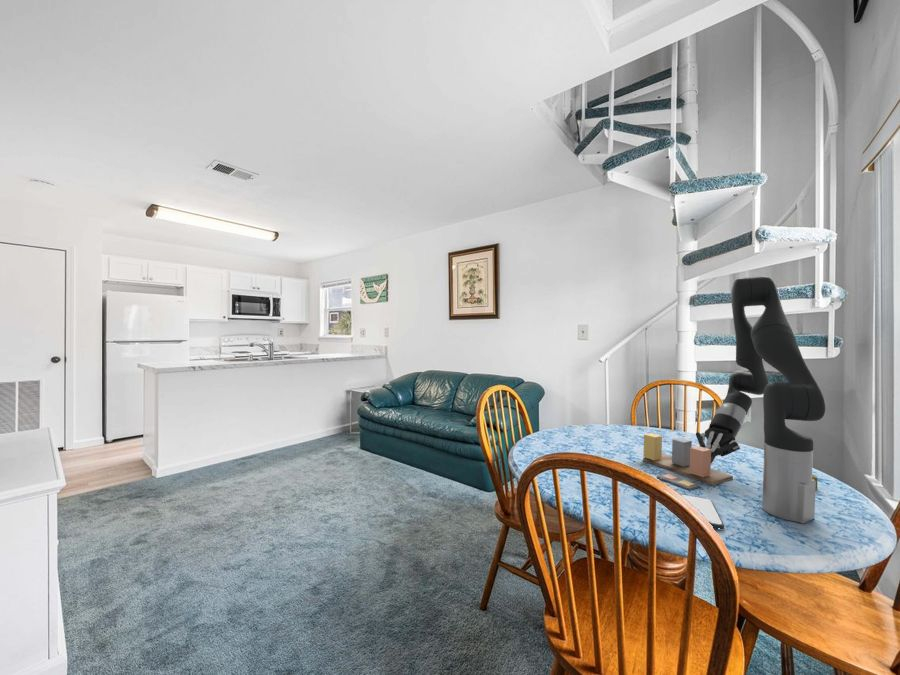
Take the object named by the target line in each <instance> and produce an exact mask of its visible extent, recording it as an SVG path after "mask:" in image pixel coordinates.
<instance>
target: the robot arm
mask: <svg viewBox="0 0 900 675" xmlns="http://www.w3.org/2000/svg"><path fill="white" fill-rule="evenodd" d="M776 284H777V283H776V282H775V280H774V279H773V278H772V277H770V276H767V275H765V276H751V277H742V278H735V279H734V280H733V281H732V284H731V287H730V301H731V309H732V310H731V312H732V318H733V320H732V321H733V325H734V331H735V344H736V345H735V364H736V365H737V366H739V367H741V368H743V369H746V370H748V371H744V370H735V371H734V372H732V373H731V374H730V376H729V380H728V388H727V393H726V396H725V398H724V400H723V402H722V403H721V405H720V406H719V407H718V409H717V410H716V412H715V414H714V416H713V417H712V420H711V422H710V423H709V426H708V428H707V429H705V431H704V432H701V433H700V432H696V433H695V436H696V439H697V442H698V444H699V445H698V446H700V447H704V448H707V449H711V464H713V462H714V460H715V458H716V457H718V456H720V457H725V456H727V455H729V454H732V453H734V452H736V451H738V450H740V449H741V447H740V445H739V443H738V442H737V441H736V437H737V436H738V433H739V432H740V429H741V427H742V426H743V425H744V422H745V419H746V416H747V414H748V412H749V410H750V408H751V406H752V404H753V400H752V398H751V397H750V396H749V395H748V394H752V395H756V396H762V395H763V396H762V398H763V399H762V400H763V401H762V404H763V405H762V406H763V434H764V444H763V447H764V449H763V470H762V474H763V475H762V499H761V502H762V504H761V507H762V510H764V511H765V512H766V513H768V514H770V515H772V516H775V517H777V518H779V519H784V520H787V521H792V522H797V523H800V524H806V523H808V522H810V521H811V520H813V519H815V513H816V512H815V510H816V509H815V508H816V491H817V490H816V481H815V480H813V479H812V475H813V467H814V466H813V462H814V461H813V460H814V440H813V438H811V436H808V435H807V434H804V433H801V432H798V431H796V430H793V429H791V428H789V427H788V426H787V425H786V420H787V421H788V420H790V421H791V420H792V421H803V422H804V421H805V422H817V421H820V420H821V419H822V418H823V417H825V414H826V403H825V399H824V395H823V392H822V391H821V389H820V387H819V385H818V383H817V381H816V379H815V378H814V377H813V375H812V373H811V371H810V369H809V367H808V366H807V364H806V362H805V360H804V358H803V355H802V353H801V350H800V347H799V346H798V345H799V344H798V341H797V338H796V336H795V334H794V332H793V329H792V327H791V324H790V323H789V321H788V318H787V317H786V314H785V311H784V309H783V305H782V302H781V299H780V295H779V292H778V288H777V285H776ZM758 306H763V307H764V310H763V312H762V314H761V315H760V317H759V318H758V319H757V320H756V321H755V323H754V325H752V324H751V323H750V321H749V319H748V317H747V316H746V311H745V308H746V307H758ZM763 361H764V362H766V363H767V364H768V365H770V366H771V367H773V368H774V369H775V370H777V371H778V372H779V373H780V374H782V375H783V376H784V377H785V378H786V379H787V381H788V382H783V381H781V382H780V381H772V382H769V378H768V375H767V373H766V370H765V367H764V363H763ZM746 393H747V394H746ZM705 440H706V444H705Z"/></svg>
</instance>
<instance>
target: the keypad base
mask: <svg viewBox="0 0 900 675" xmlns="http://www.w3.org/2000/svg"><path fill="white" fill-rule="evenodd" d="M642 461H643V462H646V463H649V464H651V463H652V465H655V466H657V467H659V466H660V468H662V467H663V468H662V469H665V468H666V470H668V469H669V471H671V472H674V473H677V474H679V475H682V476H686V477H688V478H691V479H693V480H696V481H699V482H702V483H704V484H705V483H706V484H708V485H711V486H716V485H718V484H721V483H726V482H728V481H731V480H734V476H733V475H731V474H728V473H725V472H722V471H720V470H719V471H718V470H716V469H713V468H711V473H710V475H709V476H706V477H700V476H697V475H694V474H691V473H690V465H688V466H685V467H683V466H680V465H677V464H674V463H672V455H668V454H666V453H662V459H659V460H651V459H648V458H645V457H642Z"/></svg>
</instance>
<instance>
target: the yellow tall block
mask: <svg viewBox="0 0 900 675" xmlns="http://www.w3.org/2000/svg"><path fill="white" fill-rule="evenodd" d="M662 449H663V436H662V435H660V434H656V433H653V432H651V433H645V434H643V457H642V458H648V459H651V460H659V459H662V452H663V450H662Z"/></svg>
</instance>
